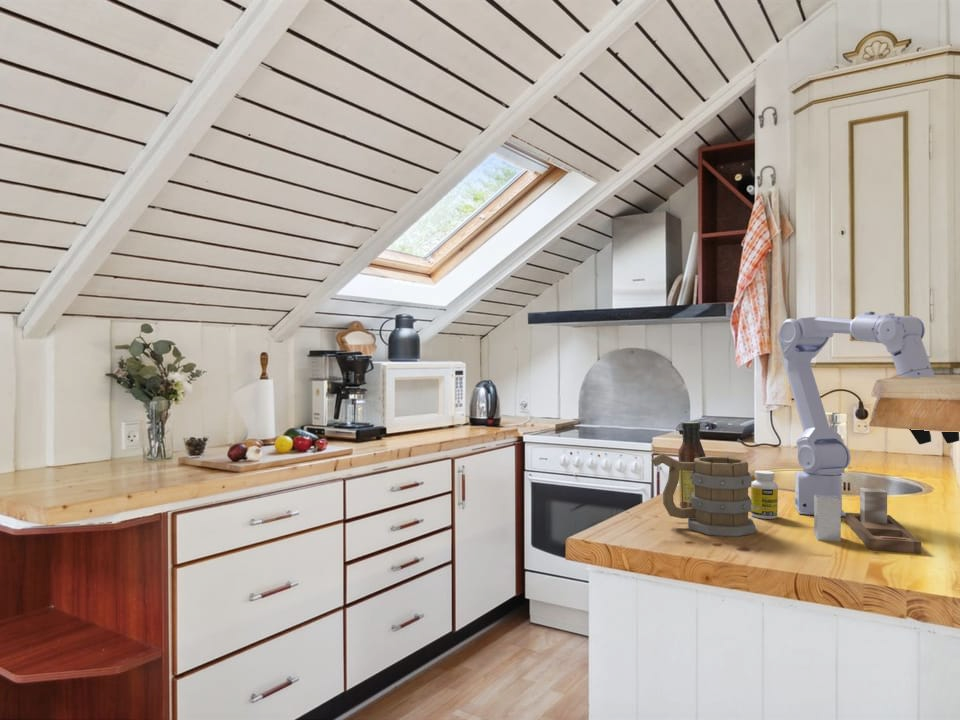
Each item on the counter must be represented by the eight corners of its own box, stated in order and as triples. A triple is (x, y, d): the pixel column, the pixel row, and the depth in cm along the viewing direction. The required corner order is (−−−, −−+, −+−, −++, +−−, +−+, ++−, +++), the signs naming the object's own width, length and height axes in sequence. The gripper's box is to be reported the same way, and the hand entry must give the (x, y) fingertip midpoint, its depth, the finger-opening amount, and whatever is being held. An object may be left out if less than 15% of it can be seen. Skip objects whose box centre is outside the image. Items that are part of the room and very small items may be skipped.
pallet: (869, 549, 127) (869, 505, 127) (845, 522, 148) (845, 484, 148) (921, 553, 124) (921, 508, 124) (889, 524, 145) (889, 486, 145)
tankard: (750, 523, 147) (750, 452, 147) (757, 538, 135) (757, 460, 135) (652, 517, 152) (652, 448, 152) (650, 531, 140) (650, 456, 140)
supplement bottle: (761, 520, 150) (761, 474, 149) (745, 514, 155) (745, 470, 155) (783, 518, 151) (783, 473, 151) (766, 513, 156) (766, 469, 156)
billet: (817, 540, 133) (817, 498, 133) (814, 535, 137) (814, 494, 137) (840, 541, 132) (840, 499, 132) (836, 536, 136) (836, 495, 136)
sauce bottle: (713, 510, 159) (713, 422, 159) (690, 512, 157) (690, 423, 157) (694, 504, 165) (694, 420, 165) (672, 506, 163) (672, 421, 163)
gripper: (907, 365, 129) (932, 437, 124) (960, 367, 134) (986, 436, 129) (875, 378, 135) (897, 447, 130) (927, 379, 140) (950, 445, 135)
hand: (939, 442), depth 130 cm, fingers open, 7 cm apart
